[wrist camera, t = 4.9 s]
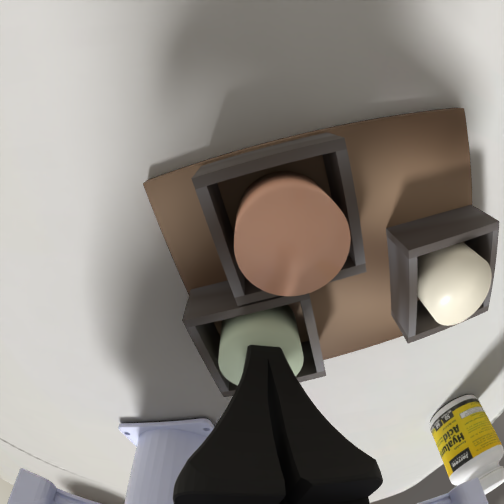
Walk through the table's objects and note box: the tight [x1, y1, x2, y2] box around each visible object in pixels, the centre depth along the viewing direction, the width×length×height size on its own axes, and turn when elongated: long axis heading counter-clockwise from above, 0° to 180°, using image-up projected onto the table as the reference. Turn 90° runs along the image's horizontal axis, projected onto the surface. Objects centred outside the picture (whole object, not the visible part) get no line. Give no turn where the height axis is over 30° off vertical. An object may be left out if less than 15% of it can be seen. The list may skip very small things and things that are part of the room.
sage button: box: [218, 305, 304, 386], centre depth 14 cm, size 4×4×3 cm
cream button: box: [417, 242, 492, 326], centre depth 13 cm, size 4×4×3 cm
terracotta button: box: [234, 171, 351, 296], centre depth 11 cm, size 4×4×3 cm
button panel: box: [143, 108, 499, 397], centre depth 13 cm, size 12×15×3 cm
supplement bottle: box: [430, 395, 504, 494], centre depth 18 cm, size 5×5×10 cm
